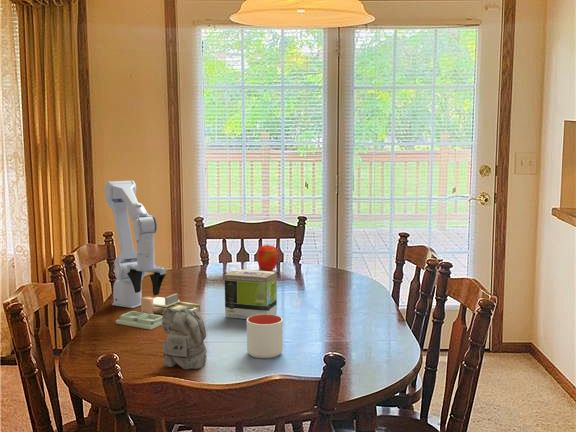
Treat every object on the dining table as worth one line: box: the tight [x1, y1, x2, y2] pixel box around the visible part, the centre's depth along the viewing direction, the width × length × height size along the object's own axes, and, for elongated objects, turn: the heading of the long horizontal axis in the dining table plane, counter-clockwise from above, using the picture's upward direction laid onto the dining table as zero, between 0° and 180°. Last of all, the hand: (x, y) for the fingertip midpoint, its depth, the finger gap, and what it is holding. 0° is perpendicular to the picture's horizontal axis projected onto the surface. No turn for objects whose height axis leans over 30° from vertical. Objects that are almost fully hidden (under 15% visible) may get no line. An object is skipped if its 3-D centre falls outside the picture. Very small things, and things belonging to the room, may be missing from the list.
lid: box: [153, 293, 181, 308], centre depth 237 cm, size 10×8×3 cm
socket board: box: [115, 310, 163, 331], centre depth 221 cm, size 14×9×2 cm, turn 63°
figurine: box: [161, 308, 208, 370], centre depth 184 cm, size 10×11×15 cm
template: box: [153, 301, 201, 315], centre depth 236 cm, size 17×10×2 cm, turn 63°
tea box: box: [224, 268, 278, 320], centre depth 228 cm, size 15×10×15 cm
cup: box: [246, 314, 284, 359], centre depth 192 cm, size 10×10×10 cm
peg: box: [140, 296, 155, 314], centre depth 229 cm, size 4×4×6 cm
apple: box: [256, 244, 279, 271], centre depth 294 cm, size 9×9×12 cm
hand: (146, 293), depth 228 cm, fingers open, 7 cm apart
